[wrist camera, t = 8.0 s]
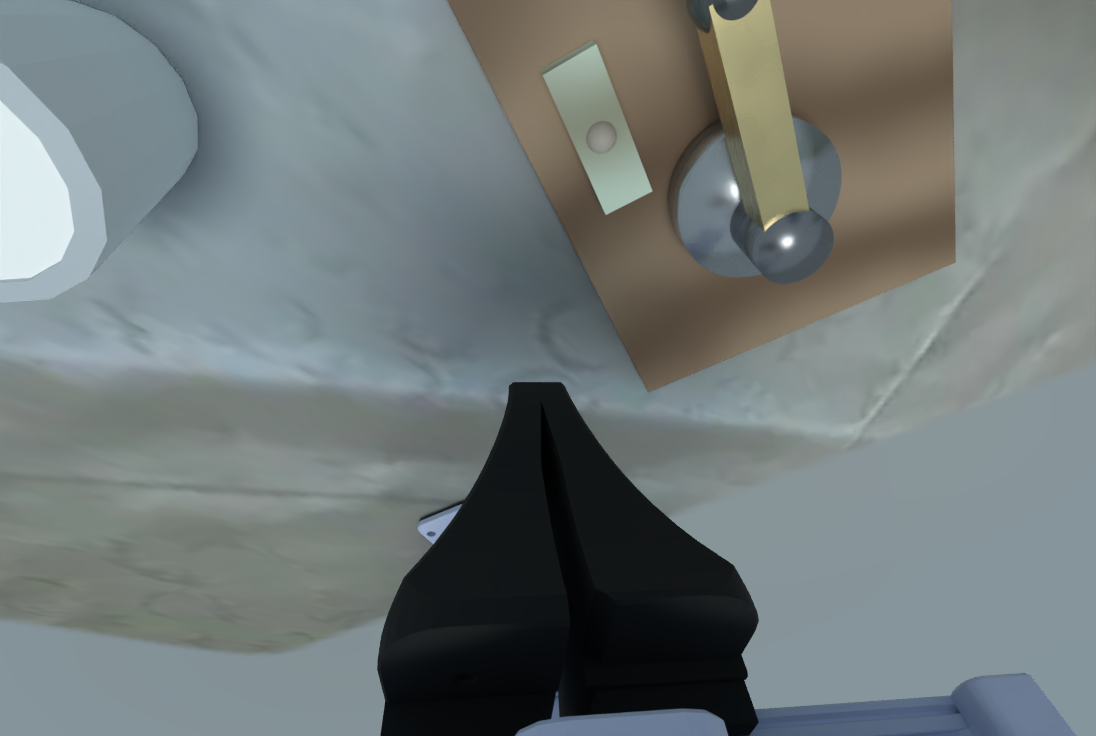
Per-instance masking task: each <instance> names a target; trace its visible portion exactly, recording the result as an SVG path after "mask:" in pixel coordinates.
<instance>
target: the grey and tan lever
mask: <svg viewBox="0 0 1096 736" xmlns="http://www.w3.org/2000/svg"><path fill="white" fill-rule="evenodd" d="M684 2H685V8H686V11H687V14H688V16H689V18H690V20H691V22H692V23H693V24H694V25H695V26H696V29H697V33H698V37H699V40H700V44H701V48H702V52H703V55H704V59H705V63H706V67H707V70H708V74H709V78H710V82H711V85H712V89H713V93H714V97H715V100H716V104H717V108H718V112H719V115H720V119H719V120H717V121H716V122H714V123H713V124H711V125H710V126H709V127H707V128H706V129H705V130H703V131H702V132H701V133H700V134H699V135H698V136H697V137H696V138H695V139H694V140H693V141H692V143H691V144H690V145H689V146H688V147H687V149H686V150H685V152H684V153H683V155H682V156H681V158H680V160H679V162H678V164H677V165H676V168H675V170H674V173H673V175H672V178H671V182H670V186H669V193H668V210H669V216H670V220H671V224H672V226H673V228H674V230H675V232H676V234H677V235H678V237H679V238H680V240H681V241H682V243H683V244H684V245H685V247H686V248H687V250H688V251H689V253H690V254H691V256H692V257H693V258H694V259H695V260H696V261H697V262H698V263H699V264H700V265H701V266H703V267H704V268H706V269H707V270H709V271H711V272H713V273H716V274H719V275H723V276H727V277H737V278H738V277H751V276H757V275H761V274H762V275H763V276H764V277H765V278H766V279H768V280H769V281H771V282H774V283H778V284H789V283H794V282H798V281H800V280H803V279H805V278H807V277H808V276H810V275H812V274H813V273H814V272H816V271H817V270H818V269H819V268H820V267H821V266H822V265H823V263H824V262H825V261H826V259H827V258H828V256H829V254H830V252H831V250H832V247H833V242H834V233H833V229H832V227H831V225H830V223H829V220H830V218H831V216H832V214H833V212H834V210H835V207H836V204H837V201H838V198H839V194H840V189H841V180H842V173H841V164H840V159H839V156H838V153H837V151H836V148H835V147H834V145H833V143H832V142H831V140H830V139H829V138H828V137H827V136H826V135H825V134H824V133H823V132H822V131H821V130H819V129H818V128H817V127H815V126H813V125H811V124H809V123H807V122H805V121H804V120H802V119H800V118H798V117H796V116H794V115H792V114H791V109H790V104H789V99H788V93H787V88H786V83H785V77H784V72H783V67H782V61H781V56H780V51H779V45H778V40H777V34H776V29H775V24H774V18H773V13H772V8H771V2H770V0H684Z"/></svg>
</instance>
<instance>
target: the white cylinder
mask: <svg viewBox="0 0 1096 736" xmlns="http://www.w3.org/2000/svg"><path fill="white" fill-rule="evenodd" d="M197 150H198V117H197V114H196V112H195V109H194V107H193V104H192V102H191V99H190V97H189V94H188V92H187V89H186V87H185V84H184V82H183V80H182V79H181V77H180V76H179V75H178V74H177V72H176V71H175V70H174V69H173V67H172V66H171V65H170V64H169V62H168V61H167V60H166V59H165V57H164V56H163V55H162V54H161V52H160V51H159V50H158V49H157V47H156V46H155V45H154V44H153V43H152V42H150V41H149V40H147V39H146V38H145V37H143V36H142V35H141V34H139V33H138V32H136V31H135V30H134V29H132V28H131V27H130V26H128V25H127V24H125V23H124V22H123V21H121V20H120V19H119V18H117V17H116V16H114V15H111V14H108V13H106V12H103V11H100V10H97V9H94V8H91V7H88V6H86V5H83V4H80V3H77V2H74V1H70V0H0V303H3V302H17V301H30V300H44V299H52V298H54V297H55V296H57V295H59V294H61V293H63V292H64V291H66V290H68V289H70V288H72V287H73V286H75V285H77V284H79V283H81V282H82V281H84V280H86V279H88V278H89V277H90V276H91V275H92V274H93V273H94V272H95V271H96V270H97V269H98V267H99V266H100V265H101V264H102V263H103V262H104V261H105V260H106V259H107V258H108V257H109V256H110V254H111V253H112V252H113V251H114V250H115V249H116V248H117V247H118V246H119V245H120V244H121V243H122V241H123V240H124V239H125V238H126V237H127V236H128V235H129V234H130V233H131V232H132V231H133V230H134V228H135V227H136V226H137V225H138V224H139V223H140V222H141V221H142V220H143V219H144V218H145V217H146V215H147V214H148V213H149V212H150V211H151V210H152V209H153V208H154V207H155V206H156V205H157V204H158V202H159V201H160V200H161V199H162V198H163V197H164V196H165V195H166V194H167V193H168V192H169V191H170V189H171V188H172V187H173V186H174V185H175V184H176V183H177V182H178V181H179V180H180V179H181V177H182V176H183V175H184V174H185V173H186V171H187V169H188V167H189V165H190V163H191V162H192V160H193V158H194V156H195V154H196V152H197Z"/></svg>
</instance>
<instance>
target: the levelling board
mask: <svg viewBox="0 0 1096 736" xmlns="http://www.w3.org/2000/svg"><path fill="white" fill-rule="evenodd" d="M447 1H448V2H449V4H450V6H451V8H452V10H453V12H454V14H455V16H456V18H457V20H458V22H459V24H460V26H461V28H462V30H463V32H464V34H465V36H466V38H467V40H468V42H469V43H470V45H471V47H472V49H473V51H474V53H475V55H476V57H477V59H478V61H479V63H480V65H481V67H482V69H483V71H484V73H485V75H486V77H487V79H488V81H489V83H490V84H491V86H492V88H493V90H494V92H495V94H496V96H497V98H498V100H499V102H500V104H501V106H502V108H503V110H504V112H505V114H506V116H507V118H508V120H509V122H510V124H511V125H512V127H513V129H514V131H515V133H516V135H517V137H518V139H519V141H520V143H521V145H522V147H523V149H524V151H525V153H526V155H527V157H528V159H529V161H530V163H531V165H532V166H533V168H534V170H535V172H536V174H537V176H538V178H539V180H540V182H541V184H542V186H543V188H544V190H545V192H546V194H547V196H548V198H549V200H550V202H551V204H552V206H553V207H554V209H555V211H556V213H557V215H558V217H559V219H560V221H561V223H562V225H563V227H564V229H565V231H566V233H567V235H568V237H569V239H570V241H571V243H572V245H573V247H574V248H575V250H576V252H577V254H578V256H579V258H580V260H581V262H582V264H583V266H584V268H585V270H586V272H587V274H588V276H589V278H590V280H591V282H592V284H593V286H594V287H595V289H596V291H597V293H598V295H599V297H600V299H601V301H602V303H603V305H604V307H605V309H606V311H607V313H608V315H609V317H610V319H611V321H612V323H613V325H614V327H615V328H616V330H617V332H618V334H619V336H620V338H621V340H622V342H623V344H624V346H625V348H626V350H627V352H628V354H629V356H630V358H631V360H632V362H633V364H634V366H635V368H636V369H637V371H638V373H639V375H640V377H641V379H642V381H643V383H644V385H645V387H646V389H647V391H648V392H650V391H653V390H655V389H657V388H660V387H662V386H665V385H667V384H669V383H672V382H674V381H676V380H679V379H681V378H683V377H686V376H688V375H691V374H693V373H695V372H698V371H700V370H702V369H705V368H707V367H709V366H712V365H714V364H717V363H719V362H721V361H724V360H726V359H728V358H731V357H733V356H735V355H738V354H740V353H743V352H745V351H747V350H750V349H752V348H754V347H757V346H759V345H761V344H764V343H766V342H769V341H771V340H773V339H776V338H778V337H780V336H783V335H785V334H787V333H790V332H792V331H795V330H797V329H799V328H802V327H804V326H806V325H809V324H811V323H813V322H816V321H818V320H821V319H823V318H825V317H828V316H830V315H832V314H835V313H837V312H839V311H842V310H844V309H847V308H849V307H851V306H854V305H856V304H858V303H861V302H863V301H865V300H868V299H870V298H873V297H875V296H877V295H880V294H882V293H884V292H887V291H889V290H891V289H894V288H896V287H899V286H901V285H903V284H906V283H908V282H910V281H913V280H915V279H917V278H920V277H922V276H925V275H927V274H929V273H932V272H934V271H936V270H939V269H941V268H943V267H946V266H948V265H951V264H953V263H955V262H956V257H955V187H954V117H953V47H952V0H770V2H771V8H772V13H773V18H774V24H775V29H776V34H777V40H778V45H779V51H780V56H781V61H782V67H783V72H784V77H785V83H786V88H787V93H788V99H789V104H790V109H791V114H792V115H794V116H796V117H798V118H800V119H802V120H804V121H805V122H807V123H809V124H811V125H813V126H815V127H817V128H818V129H819V130H821V131H822V132H823V133H824V134H825V135H826V136H827V137H828V138H829V139H830V140H831V142H832V143H833V145H834V147H835V148H836V151H837V153H838V156H839V159H840V164H841V173H842V180H841V189H840V194H839V198H838V201H837V204H836V207H835V210H834V212H833V214H832V216H831V218H830V220H829V223H830V225H831V227H832V229H833V233H834V242H833V247H832V250H831V252H830V254H829V256H828V258H827V259H826V261H825V262H824V263H823V265H822V266H821V267H820V268H819V269H818V270H817V271H816V272H814V273H813V274H812V275H810V276H808V277H807V278H805V279H803V280H800V281H798V282H794V283H789V284H778V283H774V282H771V281H769V280H768V279H766V278H765V277H764V276H763V275H762V274H761V275H757V276H751V277H738V278H737V277H727V276H723V275H719V274H716V273H713V272H711V271H709V270H707V269H706V268H704V267H703V266H701V265H700V264H699V263H698V262H697V261H696V260H695V259H694V258H693V257H692V256H691V254H690V253H689V251H688V250H687V248H686V247H685V245H684V244H683V243H682V241H681V240H680V238H679V237H678V235H677V234H676V232H675V230H674V228H673V226H672V224H671V220H670V216H669V210H668V193H669V186H670V182H671V178H672V175H673V173H674V170H675V168H676V165H677V164H678V162H679V160H680V158H681V156H682V155H683V153H684V152H685V150H686V149H687V147H688V146H689V145H690V144H691V143H692V141H693V140H694V139H695V138H696V137H697V136H698V135H699V134H700V133H701V132H702V131H703V130H705V129H706V128H707V127H709V126H710V125H711V124H713V123H714V122H716V121H717V120H719V119H720V115H719V112H718V108H717V104H716V100H715V97H714V93H713V89H712V85H711V82H710V78H709V74H708V70H707V67H706V63H705V59H704V55H703V52H702V48H701V44H700V40H699V37H698V33H697V29H696V26H695V25H694V24H693V23H692V22H691V20H690V18H689V16H688V14H687V11H686V8H685V2H684V0H447Z"/></svg>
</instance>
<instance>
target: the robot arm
mask: <svg viewBox="0 0 1096 736" xmlns="http://www.w3.org/2000/svg"><path fill="white" fill-rule="evenodd" d="M418 531H419V532H420V533H421V534H422V535H423V536H424V537H426V538H427V539H428V540H429V541H430V542H431V543H432V544H433V545H432V547H431V548H430V549H429V550H428V551H427V553H426V554H425V555H424V556H423V557H422V558H421V559H420V560H419V562H418V563H417V564H416V565H415V566H414V567H413V568H412V569H411V570H410V572H409V573H408V574H407V575H406V576H405V577H404V579H403V581H402V583H401V585H400V587H399V589H398V592H397V594H396V596H395V598H394V601H393V603H392V605H391V608H390V610H389V613H388V616H387V618H386V622H385V625H384V628H383V632H382V636H381V642H380V648H379V655H378V668H377V670H378V674H379V678H380V682H381V686H382V690H383V693H384V697H385V708H384V715H383V722H382V729H381V736H1076V735H1075V733H1074V732H1073V731H1072V730H1071V728H1070V727H1069V726H1068V724H1067V723H1066V721H1065V720H1064V719H1063V717H1061V715H1060V714H1059V712H1058V711H1057V710H1056V708H1055V707H1054V706H1053V705H1052V703H1051V702H1050V700H1049V699H1048V698H1047V696H1046V695H1045V694H1044V692H1043V691H1042V690H1041V689H1040V687H1039V686H1038V685H1037V683H1036V682H1035V681H1034V679H1033V678H1032V677H1031V675H1028V674H1025V673H1020V674H1004V675H989V676H980V677H975V678H972V679H969V680H966V681H965V682H963V683H961V684H960V685H959V686H958V687H956V689H955V690H954V691H953V692H952V694H951V696H939V697H924V698H911V699H896V700H882V701H868V702H854V703H840V704H827V705H826V704H825V705H812V706H799V707H798V706H797V707H784V708H769V709H755V710H754V707H753V704H752V701H751V698H750V696H749V693H748V690H747V687H746V684H745V681H744V680H745V679H746V678H747V677H748V673H747V669H746V667H745V664H744V661H743V658H742V655H741V654H742V653H743V651H744V649H745V647H746V646H747V644H748V642H749V641H750V639H751V637H752V636H753V634H754V632H755V630H756V627H757V624H758V621H759V620H758V614H757V611H756V608H755V606H754V603H753V601H752V599H751V596H750V594H749V592H748V590H747V588H746V586H745V584H744V583H743V581H742V579H741V577H740V576H739V574H738V572H737V570H736V569H735V567H734V565H732V564H731V563H729V562H728V561H727V560H725V559H723V558H722V557H720V556H719V555H717V554H716V553H715V552H713V551H711V550H710V549H709V548H707V547H706V546H704V545H703V544H701V543H700V542H698V541H697V540H695V539H694V538H693V537H692V536H690V535H689V534H688V533H686V532H685V531H684V530H682V529H681V528H680V527H679V526H677V525H676V524H675V523H674V522H672V520H670V519H669V518H668V517H667V516H666V515H665V514H664V513H662V512H661V511H660V510H659V509H658V508H657V507H656V506H654V505H653V504H652V503H651V502H650V501H649V500H648V499H647V498H646V497H645V496H644V495H643V494H642V493H641V492H640V491H639V490H638V489H637V488H636V487H635V486H634V485H633V484H632V483H631V481H630V480H629V479H628V478H627V477H626V476H625V475H624V474H623V473H622V471H621V470H620V469H619V468H618V467H617V466H616V464H615V463H614V462H613V461H612V459H611V458H610V457H609V455H608V454H607V453H606V452H605V450H604V449H603V448H602V446H601V445H600V444H599V442H598V441H597V439H596V438H595V436H594V435H593V434H592V432H591V431H590V429H589V428H588V426H587V425H586V423H585V422H584V420H583V418H582V417H581V415H580V414H579V412H578V410H577V409H576V407H575V405H574V403H573V402H572V400H571V398H570V396H569V394H568V392H567V390H566V388H565V386H564V385H563V384H562V383H561V382H513V383H512V384H511V385H509V397H508V403H507V407H506V411H505V415H504V418H503V421H502V424H501V427H500V430H499V433H498V436H497V438H496V441H495V443H494V446H493V448H492V450H491V452H490V455H489V457H488V459H487V461H486V463H485V465H484V467H483V469H482V471H481V473H480V475H479V477H478V479H477V481H476V483H475V484H474V486H473V488H472V490H471V491H470V493H469V494H468V496H467V498H466V499H465V501H464V502H463V504H460V505H458V506H455V507H453V508H451V509H448V510H446V511H443V512H441V513H438V514H436V515H433V516H431V517H429V518H426V519H424V520H421V521H420V522H419V523H418Z"/></svg>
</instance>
